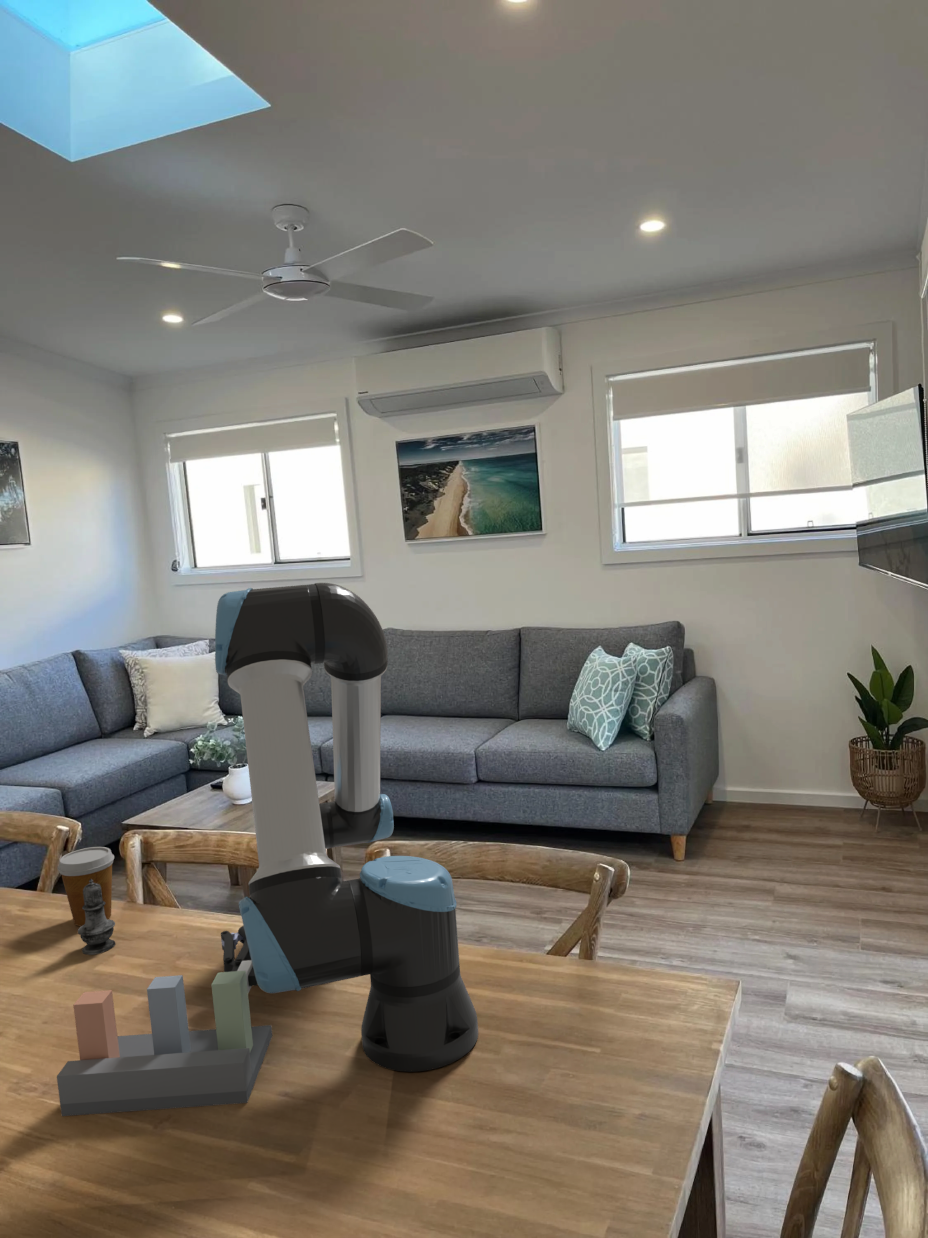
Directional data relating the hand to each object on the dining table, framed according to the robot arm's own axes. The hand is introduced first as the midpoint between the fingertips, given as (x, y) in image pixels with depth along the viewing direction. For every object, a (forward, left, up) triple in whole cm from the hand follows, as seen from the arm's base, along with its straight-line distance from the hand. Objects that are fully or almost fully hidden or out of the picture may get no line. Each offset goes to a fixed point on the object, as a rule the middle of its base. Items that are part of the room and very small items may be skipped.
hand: (236, 994), depth 114 cm
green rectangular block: (0, +3, -6) cm, 7 cm away
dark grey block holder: (+8, +4, -8) cm, 12 cm away
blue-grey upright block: (+8, +3, -6) cm, 10 cm away
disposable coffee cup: (+39, -46, -8) cm, 61 cm away
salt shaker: (+33, -34, -8) cm, 48 cm away
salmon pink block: (+16, +6, -6) cm, 18 cm away
